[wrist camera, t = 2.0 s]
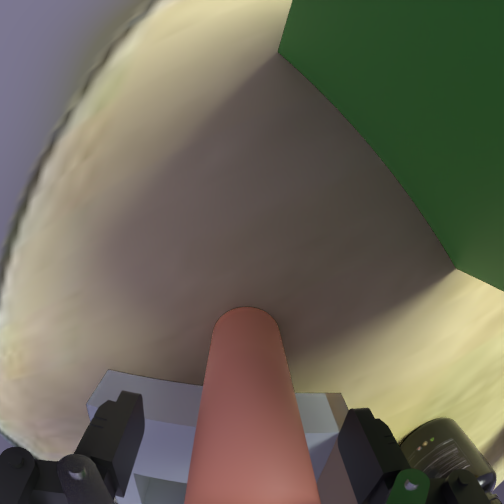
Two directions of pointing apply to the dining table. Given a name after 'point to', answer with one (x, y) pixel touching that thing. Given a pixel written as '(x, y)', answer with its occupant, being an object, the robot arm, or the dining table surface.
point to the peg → (249, 420)
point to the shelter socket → (183, 432)
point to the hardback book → (420, 105)
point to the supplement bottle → (448, 454)
